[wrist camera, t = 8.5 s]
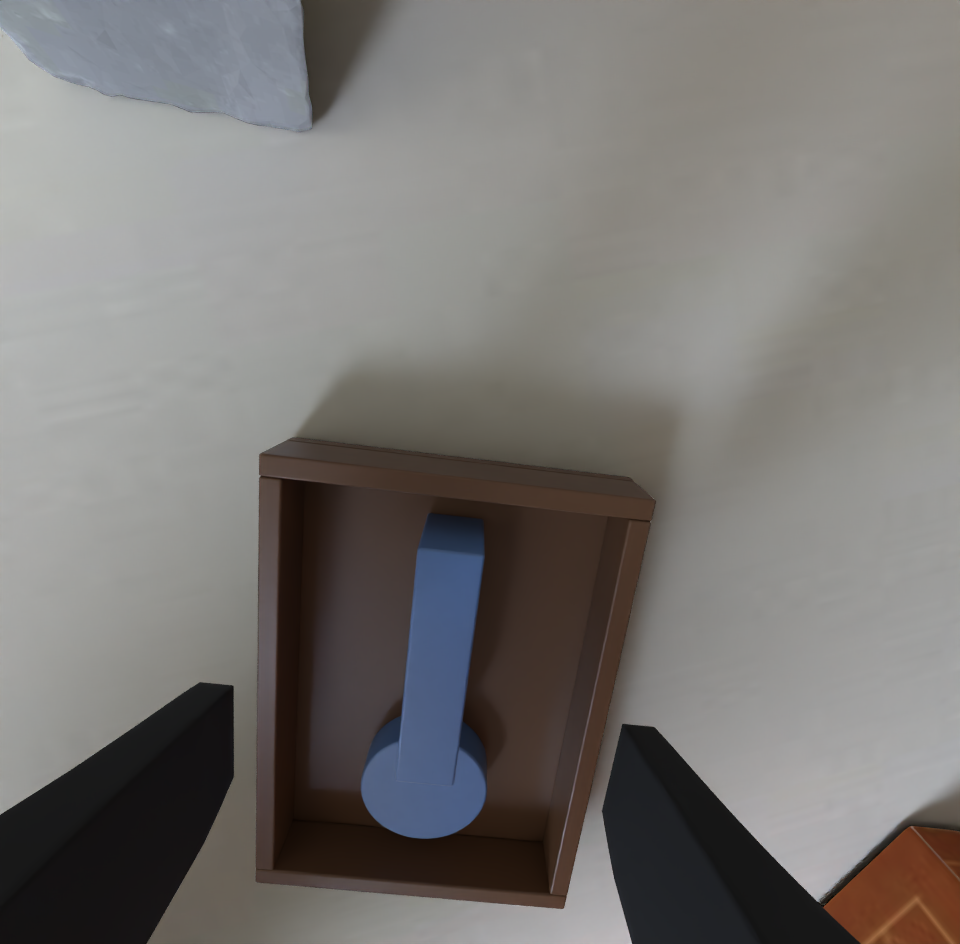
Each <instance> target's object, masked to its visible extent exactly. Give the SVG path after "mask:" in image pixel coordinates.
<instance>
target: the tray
mask: <svg viewBox="0 0 960 944" xmlns="http://www.w3.org/2000/svg"><path fill="white" fill-rule="evenodd" d="M259 475H261V476H260V478H259V565H258V675H257V785H256V882H257V883H269V884H280V885H292V886H303V887H315V888H326V889H338V890H349V891H361V892H373V893H384V894H396V895H407V896H419V897H430V898H442V899H453V900H465V901H477V902H488V903H500V904H511V905H523V906H534V907H546V908H557V909H563V908H564V906H565V902H566V897H567V893H568V888H569V884H570V879H571V875H572V871H573V866H574V862H575V857H576V853H577V848H578V844H579V839H580V835H581V831H582V826H583V822H584V817H585V813H586V808H587V804H588V800H589V795H590V791H591V786H592V782H593V777H594V773H595V769H596V764H597V760H598V755H599V751H600V746H601V742H602V738H603V733H604V729H605V724H606V720H607V715H608V711H609V706H610V702H611V698H612V693H613V689H614V684H615V680H616V675H617V671H618V667H619V662H620V658H621V653H622V649H623V644H624V640H625V636H626V631H627V627H628V622H629V618H630V613H631V609H632V605H633V600H634V596H635V591H636V587H637V582H638V578H639V573H640V569H641V565H642V560H643V556H644V551H645V547H646V542H647V538H648V534H649V529H650V525H651V523H650V521H651V520H652V516H653V512H654V508H655V503H656V501H655V499H653V498H652V497H651V496H650V495H649V494H648V493H647V492H645V491H644V490H643V489H642V488H641V487H640V486H639V485H637V484H636V483H635V482H634V481H633V480H632V479H631V478H629V477H622V476H613V475H605V474H597V473H588V472H580V471H571V470H563V469H555V468H546V467H538V466H529V465H521V464H513V463H504V462H496V461H487V460H479V459H471V458H462V457H454V456H445V455H437V454H429V453H420V452H412V451H403V450H395V449H387V448H378V447H370V446H362V445H353V444H345V443H336V442H328V441H320V440H311V439H303V438H294V437H293V438H290V439H288V440H287V441H284V442H282V443H280V444H278V445H276V446H274V447H272V448H270V449H268V450H266V451H264V452H262V453H260V455H259ZM429 513H433V514H442V515H451V516H459V517H468V518H477V519H482V520H483V522H484V549H485V559H484V566H483V574H482V581H481V588H480V596H479V603H478V611H477V618H476V625H475V633H474V640H473V648H472V655H471V662H470V670H469V677H468V685H467V692H466V699H465V707H464V714H463V722H464V723H466V724H467V725H468V726H469V727H470V728H472V729H473V730H474V732H475V733H476V734H477V735H478V737H479V738H480V740H481V742H482V744H483V746H484V748H485V752H486V759H487V796H486V800H485V803H484V805H483V807H482V809H481V811H480V813H479V814H478V815H477V817H476V818H475V819H474V820H473V821H472V822H471V823H470V824H469V825H467V826H466V827H464V828H463V829H461V830H459V831H457V832H455V833H453V834H450V835H447V836H444V837H439V838H431V839H419V838H411V837H407V836H403V835H400V834H397V833H395V832H393V831H391V830H389V829H387V828H386V827H384V826H382V825H381V824H380V823H379V822H378V821H376V820H375V819H374V817H373V816H372V815H371V814H370V812H369V811H368V810H367V808H366V806H365V804H364V801H363V798H362V793H361V778H362V773H363V770H364V766H365V762H366V759H367V755H368V751H369V748H370V745H371V742H372V741H373V739H374V737H375V736H376V734H377V733H378V732H379V731H380V730H381V729H382V727H383V726H385V725H386V724H387V723H389V722H390V721H392V720H393V719H395V718H397V717H399V716H401V714H402V703H403V693H404V683H405V672H406V662H407V652H408V641H409V631H410V621H411V610H412V600H413V590H414V579H415V569H416V559H417V549H418V546H419V542H420V539H421V536H422V532H423V529H424V525H425V522H426V519H427V515H428V514H429Z"/></svg>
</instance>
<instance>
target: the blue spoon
mask: <svg viewBox="0 0 960 944" xmlns="http://www.w3.org/2000/svg"><path fill="white" fill-rule="evenodd" d="M484 559H485V549H484V522H483V520H482V519H477V518H468V517H459V516H451V515H442V514H433V513H429V514H428V515H427V519H426V522H425V525H424V529H423V532H422V536H421V539H420V542H419V546H418V549H417V559H416V569H415V579H414V590H413V600H412V610H411V621H410V631H409V641H408V652H407V662H406V672H405V683H404V693H403V703H402V714H401V716H399V717H397V718H395V719H393V720H392V721H390V722H389V723H387V724H386V725H385V726H383V727H382V729H381V730H380V731H379V732H378V733H377V734H376V736H375V737H374V739H373V741H372V742H371V745H370V748H369V751H368V755H367V759H366V762H365V766H364V770H363V773H362V778H361V793H362V798H363V801H364V804H365V806H366V808H367V810H368V811H369V812H370V814H371V815H372V816H373V817H374V819H375V820H376V821H378V822H379V823H380V824H381V825H382V826H384V827H386V828H387V829H389V830H391V831H393V832H395V833H397V834H400V835H403V836H407V837H411V838H419V839H431V838H439V837H444V836H447V835H450V834H453V833H455V832H457V831H459V830H461V829H463V828H464V827H466V826H467V825H469V824H470V823H471V822H472V821H473V820H474V819H475V818H476V817H477V815H478V814H479V813H480V811H481V809H482V807H483V805H484V803H485V800H486V796H487V759H486V752H485V748H484V746H483V744H482V742H481V740H480V738H479V737H478V735H477V734H476V733H475V732H474V730H473V729H472V728H470V727H469V726H468V725H467V724H466V723H464V722H463V714H464V707H465V699H466V692H467V685H468V677H469V670H470V662H471V655H472V648H473V640H474V633H475V625H476V618H477V611H478V603H479V596H480V588H481V581H482V574H483V566H484Z"/></svg>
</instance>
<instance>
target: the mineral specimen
mask: <svg viewBox="0 0 960 944" xmlns="http://www.w3.org/2000/svg"><path fill="white" fill-rule="evenodd" d="M0 28H1V29H2V30H3V31H4V32H5V33H6V34H7V35H8V36H10V38H11V39H12V40H13V41H14V43H15V44H16V45H17V46H18V47H19V49H20V50H21V51H22V52H23V53H24V55H25V56H26V57H27V58H28V59H29V60H30V61H31V62H33V63H34V64H36V65H37V66H39V67H40V68H42V69H43V70H45V71H46V72H48V73H50V74H51V75H53V76H54V77H57V78H60V79H63V80H66V81H68V82H71V83H74V84H78V85H83V86H87V87H91V88H93V89H95V90H97V91H99V92H101V93H102V94H105V95H108V96H117V95H123V96H126V97H129V98H134V99H140V100H147V101H154V102H160V103H167V104H172V105H174V106H177V107H179V108H182V109H184V110H187V111H189V112H222V113H225V114H227V115H229V116H232V117H234V118H236V119H239V120H241V121H244V122H247V123H251V124H255V125H261V126H271V127H275V128H281V129H287V130H292V131H297V132H300V131H305V130H309V129H311V128H312V119H313V113H312V104H311V100H310V97H309V94H308V92H309V79H308V73H307V66H306V57H305V48H304V40H303V30H304V10H303V7H302V3H301V0H0Z"/></svg>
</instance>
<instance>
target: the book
mask: <svg viewBox="0 0 960 944" xmlns="http://www.w3.org/2000/svg"><path fill="white" fill-rule="evenodd" d="M823 908H824V909H825V910H826V911H827V912H828V913H829V914H830V915H831V916H832V917H833V918H834V919H835V920H836V921H837V922H838V923H839V924H841V925H842V926H843V927H844V928H845V929H846V930H847V931H848V932H849V933H850V934H851V935H852V936H853V937H854V938H855V939H856V940H858V941H859V942H860V943H861V944H960V832H959V831H954V830H947V829H938V828H928V827H918V826H910V827H908V828H906V829H905V830H904V831H903V832H902V833H901V834H900V835H899V836H898V837H897V838H896V839H895V840H894V841H892V842H891V843H890V844H889V845H888V846H887V847H886V848H885V849H884V850H883V851H882V852H881V853H880V854H879V855H878V856H877V857H876V858H874V859H873V860H872V861H871V862H870V863H869V864H868V865H867V866H866V867H865V868H864V869H863V870H862V871H861V872H860V873H859V874H858V875H857V876H855V877H854V878H853V879H852V880H851V881H850V882H849V883H848V884H847V885H846V886H845V887H844V888H843V889H842V890H841V891H840V892H839V893H838V894H836V895H835V896H834V897H833V898H832V899H831V900H830V901H829V902H828V903H827V904H826V905H825V906H824V907H823Z"/></svg>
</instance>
